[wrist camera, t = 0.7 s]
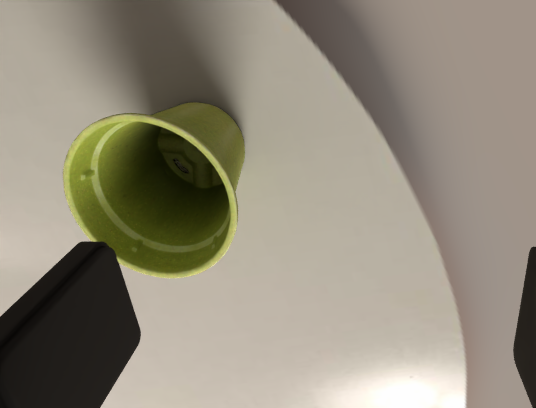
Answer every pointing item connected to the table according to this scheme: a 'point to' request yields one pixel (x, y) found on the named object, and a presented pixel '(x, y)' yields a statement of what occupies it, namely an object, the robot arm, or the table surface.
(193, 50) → the table surface
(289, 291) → the table surface
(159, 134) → the plant pot
